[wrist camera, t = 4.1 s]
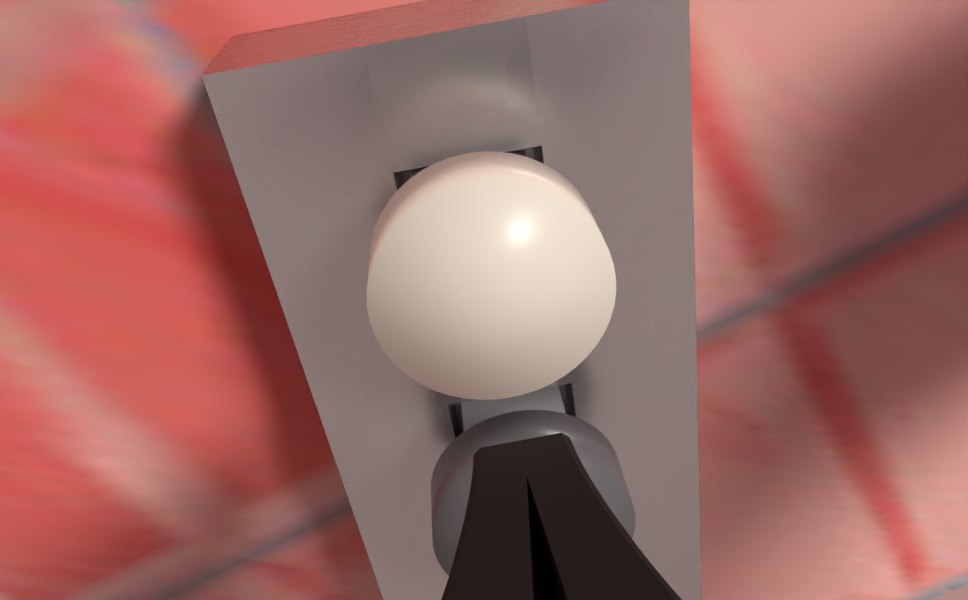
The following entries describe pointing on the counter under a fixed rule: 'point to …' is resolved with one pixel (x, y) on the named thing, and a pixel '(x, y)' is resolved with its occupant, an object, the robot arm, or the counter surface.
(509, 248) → the button ivory
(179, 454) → the counter surface
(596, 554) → the robot arm
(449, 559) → the button charcoal
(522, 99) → the panel
